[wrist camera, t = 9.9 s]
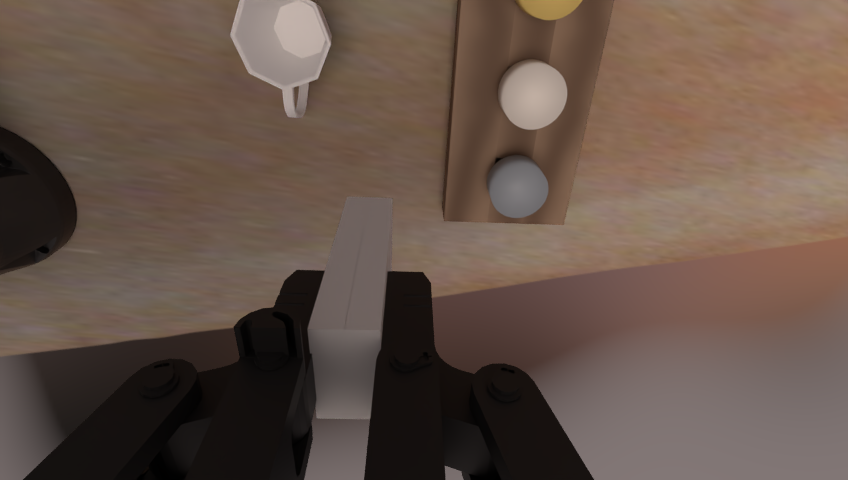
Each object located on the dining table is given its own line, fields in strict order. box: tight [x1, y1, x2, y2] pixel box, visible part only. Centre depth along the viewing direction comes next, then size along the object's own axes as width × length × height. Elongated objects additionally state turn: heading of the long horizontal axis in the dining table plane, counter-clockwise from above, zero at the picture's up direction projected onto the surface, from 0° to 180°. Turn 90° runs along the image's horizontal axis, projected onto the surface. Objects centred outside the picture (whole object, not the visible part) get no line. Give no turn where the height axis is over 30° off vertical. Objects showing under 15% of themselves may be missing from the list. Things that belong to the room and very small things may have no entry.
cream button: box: [498, 59, 567, 130], centre depth 38 cm, size 5×5×5 cm
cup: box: [230, 0, 332, 118], centre depth 36 cm, size 7×10×8 cm
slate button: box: [487, 155, 548, 218], centre depth 42 cm, size 5×5×5 cm
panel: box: [442, 0, 614, 225], centre depth 40 cm, size 12×26×3 cm, turn 177°
